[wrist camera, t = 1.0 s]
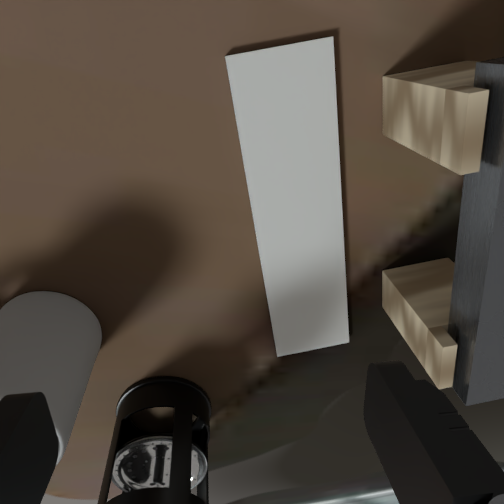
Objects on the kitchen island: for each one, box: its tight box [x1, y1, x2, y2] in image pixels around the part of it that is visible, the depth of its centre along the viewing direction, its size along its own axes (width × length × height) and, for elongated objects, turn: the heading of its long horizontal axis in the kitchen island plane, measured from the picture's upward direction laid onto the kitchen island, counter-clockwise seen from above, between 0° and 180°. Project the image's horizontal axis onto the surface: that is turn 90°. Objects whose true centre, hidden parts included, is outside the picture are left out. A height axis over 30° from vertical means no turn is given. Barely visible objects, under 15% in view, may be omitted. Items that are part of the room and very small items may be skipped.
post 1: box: [383, 60, 489, 175], centre depth 24 cm, size 4×6×10 cm, turn 99°
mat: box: [225, 36, 349, 357], centre depth 32 cm, size 26×7×1 cm, turn 9°
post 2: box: [382, 258, 457, 389], centre depth 32 cm, size 4×6×10 cm, turn 99°
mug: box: [0, 291, 102, 465], centre depth 29 cm, size 12×8×11 cm
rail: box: [447, 57, 504, 406], centre depth 24 cm, size 22×3×3 cm, turn 9°
